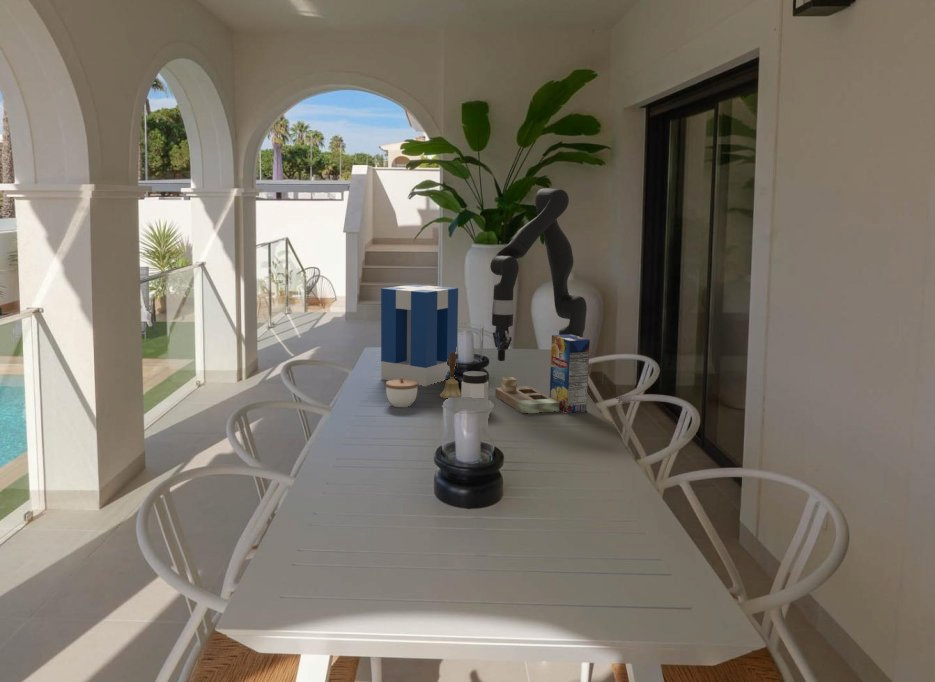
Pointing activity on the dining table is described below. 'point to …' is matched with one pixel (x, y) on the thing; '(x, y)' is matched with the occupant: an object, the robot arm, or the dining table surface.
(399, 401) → the lidded jar
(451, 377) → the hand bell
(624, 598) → the dining table surface
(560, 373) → the juice carton
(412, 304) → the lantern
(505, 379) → the beech block
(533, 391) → the wooden compartment tray
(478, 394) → the jar
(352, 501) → the dining table surface
